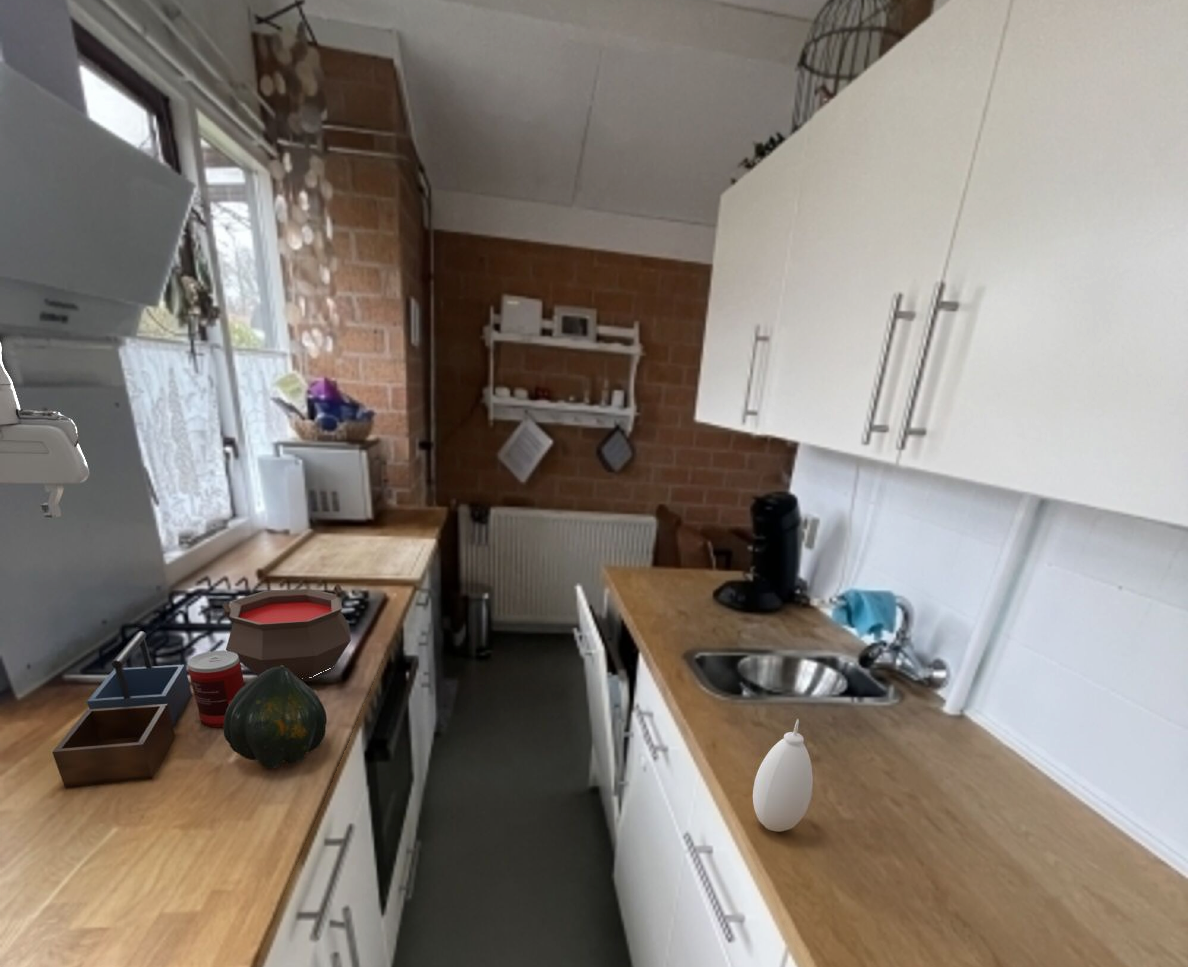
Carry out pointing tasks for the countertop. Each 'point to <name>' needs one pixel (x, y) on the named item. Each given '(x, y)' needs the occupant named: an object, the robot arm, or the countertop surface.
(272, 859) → the countertop surface
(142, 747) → the bottom basket
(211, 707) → the canned food
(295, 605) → the brown soup pot
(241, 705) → the squash
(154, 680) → the top basket
